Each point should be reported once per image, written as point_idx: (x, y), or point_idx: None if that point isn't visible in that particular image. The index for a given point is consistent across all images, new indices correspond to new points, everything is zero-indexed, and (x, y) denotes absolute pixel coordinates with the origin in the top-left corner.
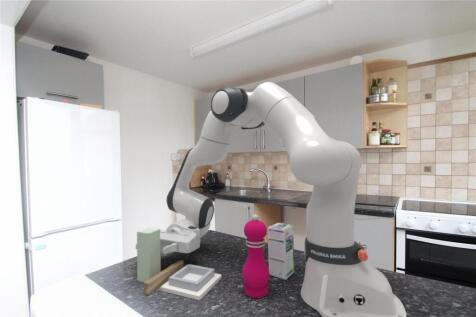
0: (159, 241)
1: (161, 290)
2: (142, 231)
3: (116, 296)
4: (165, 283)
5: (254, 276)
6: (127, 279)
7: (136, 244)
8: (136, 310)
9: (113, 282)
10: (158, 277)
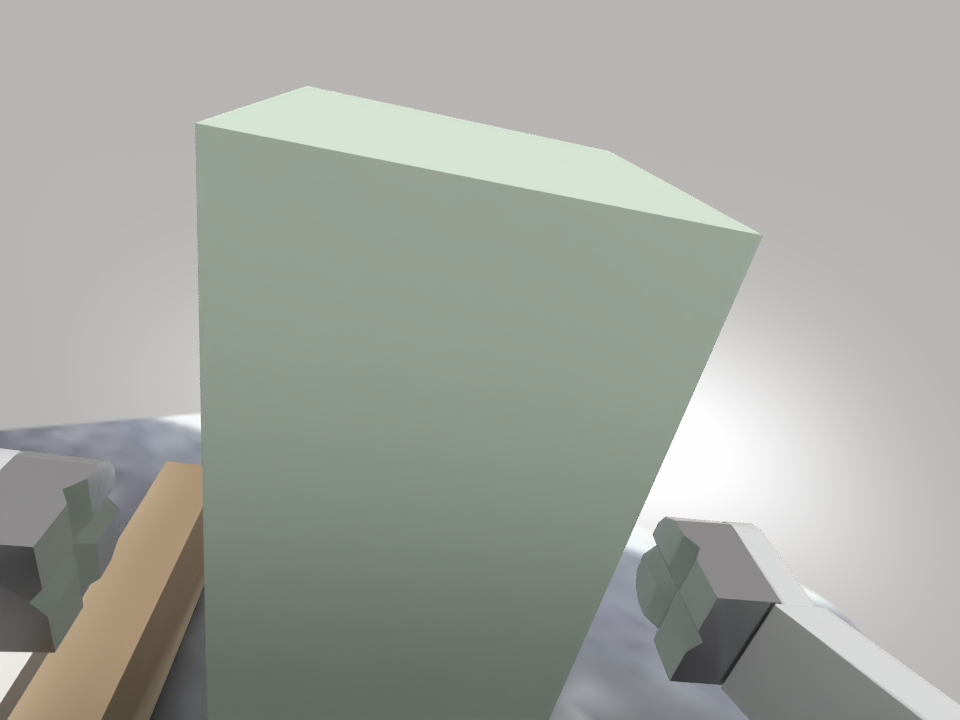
0: (216, 480)
1: None
2: (541, 142)
3: None
4: (20, 665)
5: None
6: (563, 689)
7: (732, 524)
8: (176, 425)
9: (612, 610)
10: None
